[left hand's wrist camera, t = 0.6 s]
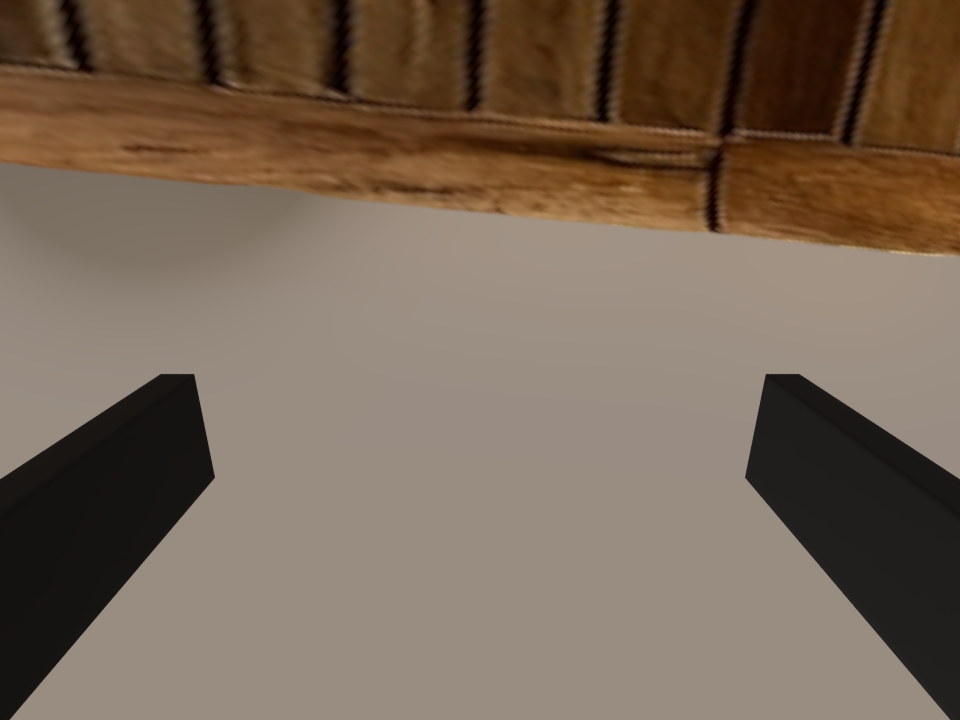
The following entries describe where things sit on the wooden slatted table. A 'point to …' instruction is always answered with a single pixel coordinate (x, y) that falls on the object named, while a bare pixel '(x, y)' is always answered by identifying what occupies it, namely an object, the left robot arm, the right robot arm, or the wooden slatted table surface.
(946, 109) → the wooden slatted table surface
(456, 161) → the wooden slatted table surface
